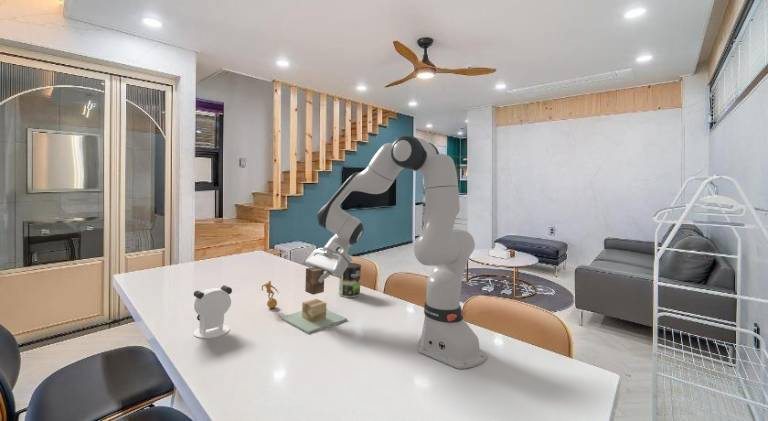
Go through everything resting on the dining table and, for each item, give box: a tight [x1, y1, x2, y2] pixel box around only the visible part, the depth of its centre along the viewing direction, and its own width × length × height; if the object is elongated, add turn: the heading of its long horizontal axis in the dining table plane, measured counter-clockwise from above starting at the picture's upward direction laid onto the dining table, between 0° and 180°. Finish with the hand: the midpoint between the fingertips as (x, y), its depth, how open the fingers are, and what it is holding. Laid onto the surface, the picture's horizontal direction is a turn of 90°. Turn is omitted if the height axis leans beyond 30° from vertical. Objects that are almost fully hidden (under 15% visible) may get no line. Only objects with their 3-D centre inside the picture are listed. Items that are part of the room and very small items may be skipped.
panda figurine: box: [193, 285, 233, 340], centre depth 122 cm, size 12×11×15 cm
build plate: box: [280, 309, 348, 335], centre depth 136 cm, size 18×18×1 cm
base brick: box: [301, 298, 327, 322], centre depth 136 cm, size 6×6×6 cm
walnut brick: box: [304, 267, 325, 295], centre depth 135 cm, size 5×5×9 cm
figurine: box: [261, 280, 280, 309], centre depth 145 cm, size 8×6×12 cm
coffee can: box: [338, 262, 362, 299], centre depth 168 cm, size 10×10×14 cm
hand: (313, 279), depth 134 cm, fingers closed on walnut brick, 5 cm apart
